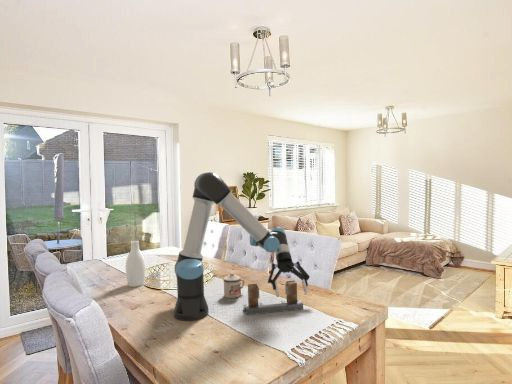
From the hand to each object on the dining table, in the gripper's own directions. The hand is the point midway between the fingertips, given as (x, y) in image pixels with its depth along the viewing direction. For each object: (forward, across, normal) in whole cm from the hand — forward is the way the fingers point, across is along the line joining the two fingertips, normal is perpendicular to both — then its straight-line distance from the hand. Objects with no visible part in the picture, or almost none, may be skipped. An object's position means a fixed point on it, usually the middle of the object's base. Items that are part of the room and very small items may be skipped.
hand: (292, 294), depth 154 cm
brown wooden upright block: (+2, 0, -6) cm, 6 cm away
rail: (+4, +9, -4) cm, 11 cm away
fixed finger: (+2, +18, -6) cm, 19 cm away
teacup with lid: (-12, +24, -21) cm, 34 cm away
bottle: (-35, +78, -44) cm, 96 cm away
